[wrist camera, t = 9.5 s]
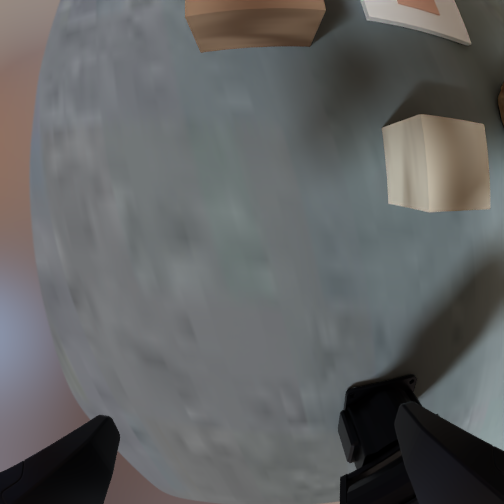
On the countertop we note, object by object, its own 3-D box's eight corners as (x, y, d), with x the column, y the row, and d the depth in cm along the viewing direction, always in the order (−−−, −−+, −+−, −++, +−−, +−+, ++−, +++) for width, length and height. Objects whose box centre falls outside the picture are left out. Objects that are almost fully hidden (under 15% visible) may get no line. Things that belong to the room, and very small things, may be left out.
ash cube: (439, 132, 16) (484, 124, 11) (445, 200, 17) (490, 209, 12) (381, 128, 16) (420, 114, 11) (388, 203, 17) (428, 212, 13)
